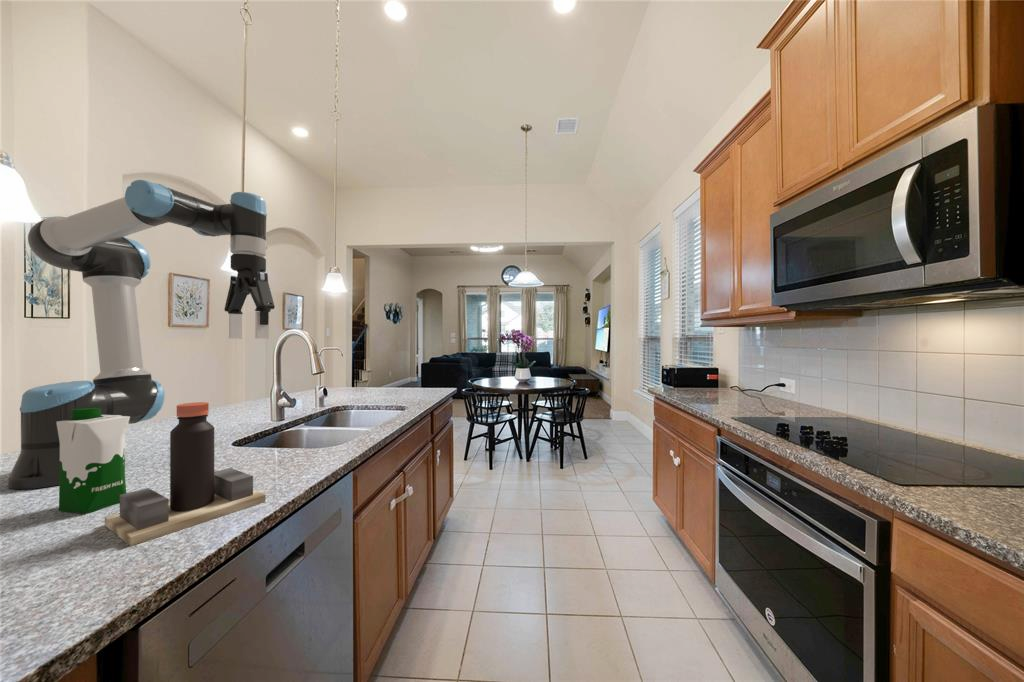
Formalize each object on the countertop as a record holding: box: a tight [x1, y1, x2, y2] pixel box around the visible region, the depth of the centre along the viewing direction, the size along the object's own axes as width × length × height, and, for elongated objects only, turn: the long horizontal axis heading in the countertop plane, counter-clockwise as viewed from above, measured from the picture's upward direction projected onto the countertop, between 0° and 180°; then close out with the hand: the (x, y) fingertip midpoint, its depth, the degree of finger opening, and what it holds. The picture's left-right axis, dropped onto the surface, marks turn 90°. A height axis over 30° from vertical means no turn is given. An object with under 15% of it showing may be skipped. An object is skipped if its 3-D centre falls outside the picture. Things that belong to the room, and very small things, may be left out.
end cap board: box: [104, 467, 267, 547], centre depth 77 cm, size 14×21×6 cm, turn 149°
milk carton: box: [56, 407, 130, 515], centre depth 80 cm, size 9×9×20 cm
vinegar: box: [169, 401, 215, 511], centre depth 77 cm, size 7×7×20 cm
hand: (248, 338), depth 99 cm, fingers open, 13 cm apart
